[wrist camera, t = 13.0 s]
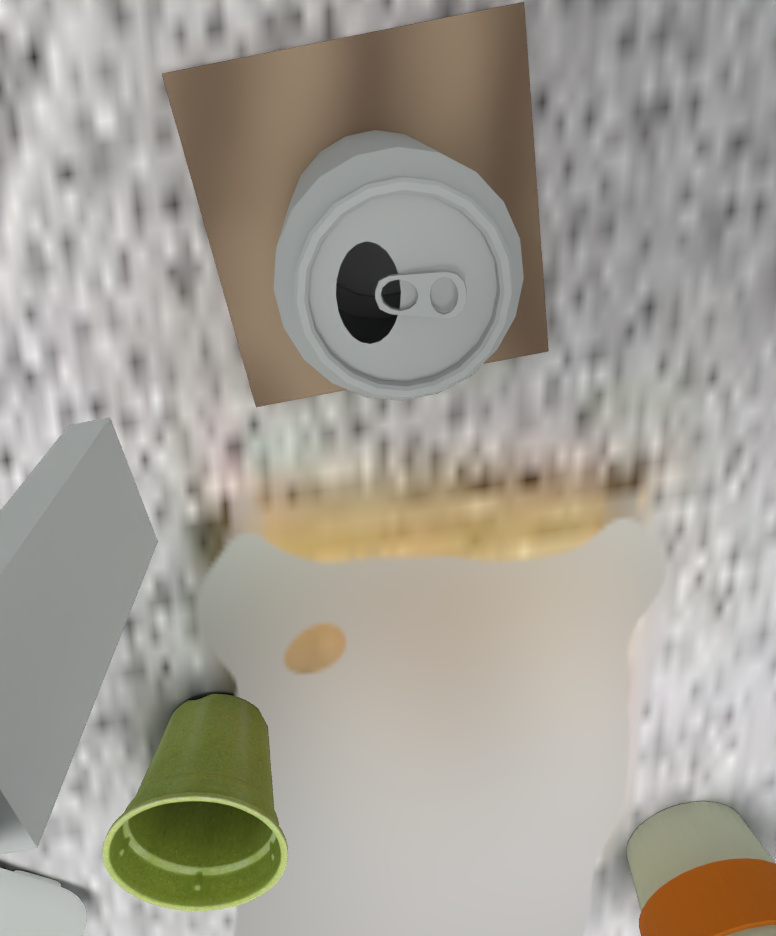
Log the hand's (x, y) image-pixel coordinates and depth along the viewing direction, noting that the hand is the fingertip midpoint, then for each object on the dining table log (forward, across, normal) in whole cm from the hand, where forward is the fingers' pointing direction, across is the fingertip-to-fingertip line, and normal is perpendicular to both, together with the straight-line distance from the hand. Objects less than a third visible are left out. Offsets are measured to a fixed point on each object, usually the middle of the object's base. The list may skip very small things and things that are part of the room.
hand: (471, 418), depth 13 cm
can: (+20, +1, -1) cm, 20 cm away
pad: (+21, +1, 0) cm, 21 cm away
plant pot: (+21, +16, +28) cm, 38 cm away
